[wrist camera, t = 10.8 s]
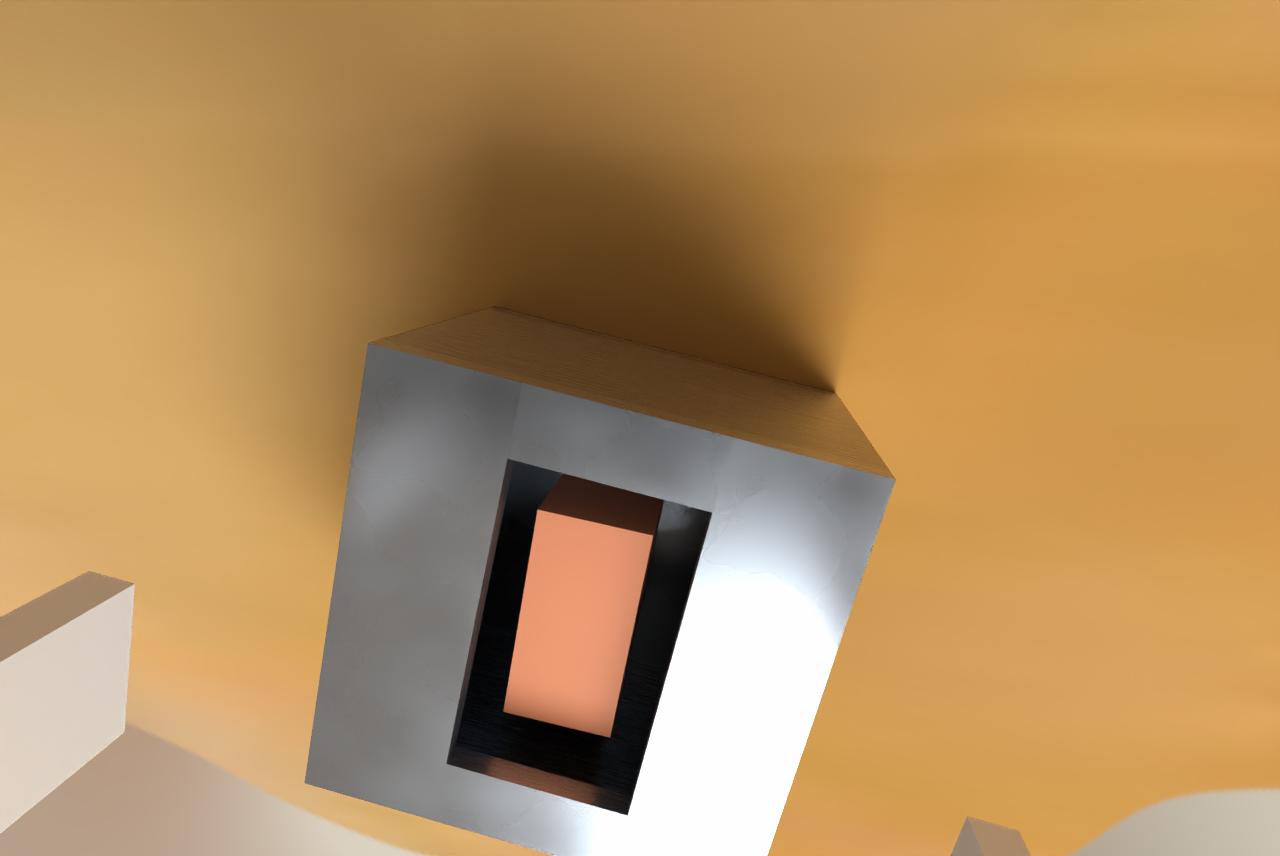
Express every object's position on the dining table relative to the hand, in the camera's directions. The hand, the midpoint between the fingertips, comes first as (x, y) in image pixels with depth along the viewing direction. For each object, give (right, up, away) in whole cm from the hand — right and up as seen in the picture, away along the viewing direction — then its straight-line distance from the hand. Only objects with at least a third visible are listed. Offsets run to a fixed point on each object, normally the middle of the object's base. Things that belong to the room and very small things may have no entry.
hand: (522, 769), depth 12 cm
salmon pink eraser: (+1, +2, +11) cm, 11 cm away
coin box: (+1, +3, +11) cm, 12 cm away
